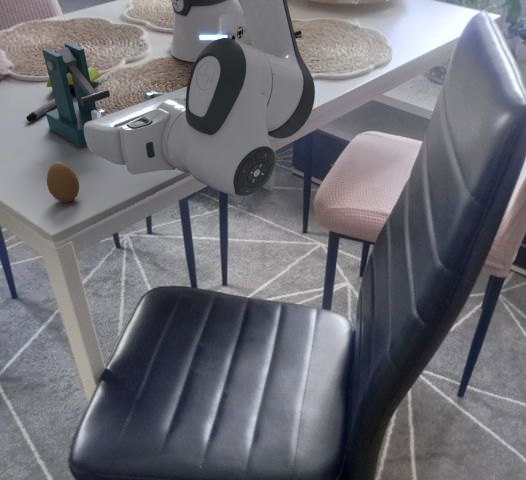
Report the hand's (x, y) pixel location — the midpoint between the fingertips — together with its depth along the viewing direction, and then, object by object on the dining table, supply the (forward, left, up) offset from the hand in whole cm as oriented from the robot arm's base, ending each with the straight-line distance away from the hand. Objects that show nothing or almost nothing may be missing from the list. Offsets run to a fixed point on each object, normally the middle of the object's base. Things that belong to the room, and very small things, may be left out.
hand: (122, 105), depth 91 cm
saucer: (-10, -34, -6) cm, 36 cm away
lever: (0, -13, 0) cm, 13 cm away
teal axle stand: (0, -15, -9) cm, 18 cm away
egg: (+14, +3, -9) cm, 17 cm away
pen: (+5, -28, -10) cm, 30 cm away
